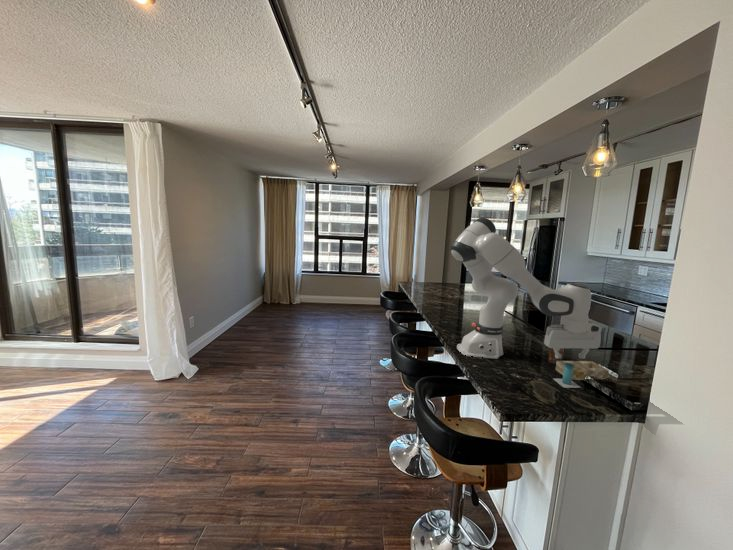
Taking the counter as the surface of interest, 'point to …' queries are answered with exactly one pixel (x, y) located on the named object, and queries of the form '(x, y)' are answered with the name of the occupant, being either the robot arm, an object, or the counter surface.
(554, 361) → the brown rounded slab
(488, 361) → the counter surface
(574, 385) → the deck
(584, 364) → the socket block
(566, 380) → the plug
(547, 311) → the robot arm
